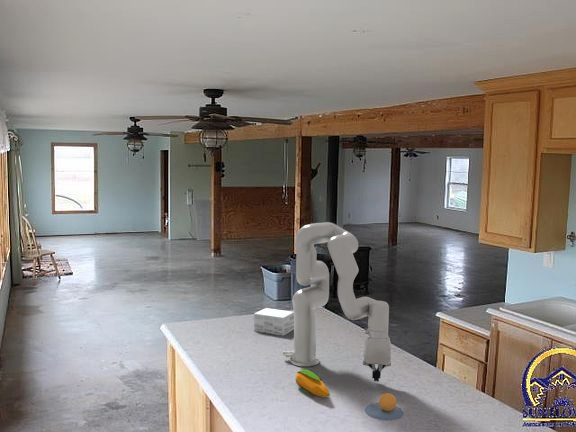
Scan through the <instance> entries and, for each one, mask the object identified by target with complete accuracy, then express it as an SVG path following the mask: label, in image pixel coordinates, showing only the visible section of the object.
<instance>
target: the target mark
mask: <svg viewBox="0 0 576 432" xmlns="http://www.w3.org/2000/svg"><path fill="white" fill-rule="evenodd" d="M364 412H365V413H366V414H367V415H368V416H370V417H371V418H373V419H377V420H381V421H395V420H398V419H401V418H402V417H404V411H403V409H402V408H401V407H399V406H398V405H396V407H395V409H394V410H392V411H390V412H387V411H384V410H382V409H381V407H380V406H379V402H373V403H369V404H367V405H366V406H365V407H364Z"/></svg>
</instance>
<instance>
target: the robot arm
mask: <svg viewBox="0 0 576 432" xmlns="http://www.w3.org/2000/svg"><path fill="white" fill-rule="evenodd" d="M325 243H327V249H328V252H329V254H330V257H331V260H332V262H333V265H334V268H335V271H336V273H337V276H338V280H337V298H338V302H339V303H340V304H339V305H340V307H341V310H342V311H343V314H344V316H345V317H347V319H349V320H351V321H357V320H360V319H363V318H366V317H368V321H367V322H368V325H367V326H368V327H367V329H364V332H363V334H366V337H365V340H364V345H363V346H364V348H363V352H364V354H363V361H362V365H363V366H367V367H369V368H370V369H371V370H372V371H371V374H372V375H371V376H372V379H373V380H374V382H380V379H381V378H382V377H381V372H382V371H383V370H384V369H385V368H386V367H391V365H392V346H391V345H392V344H391V338H390V336H389V316H390V304H388V302H387V301H384V300H376V299H374V298H371V297H369V296H361V297H358V298H356V295H355V292H354V280H355V278H356V277H357V275H358V273H359V267H358V264H357V261H356V258H355V257H354V256H355V255H354V254H355V253H356V252H357V251H358V249H359V241H358V239H357V237H356V236H355V235H354V234H353V233H351V232H349V231H348V230H346V229H344V228H342V227H341V226H339V225H337V224H336V223H334V222H330V221H329V222H328V221H326V222H315V223H314V222H313V223H309V224H305V225H303V226H302V227H301V228H300V229H298V231H297V233H296V235H295V247H296V249H295V250H296V258H295V259H296V260H295V262H296V263H295V266H296V267H295V274H296V275H295V277H296V281H297V283H298V284H299V285H301V286H304V287H305V286H309V287H305V288H301V289H299V290H297V291H296V292H295V293H294V294H293V296H292V299H291V301H292V303H291V304H292V309H293V312H294V330H293V348H292V350H290V351H288V350H283V351H282V355H283V356H285V358H289V362H290V363H291V364H292V365H294V366H298V367H305V368H306V367H313V366H316V365H318V364H319V363H320V358H319V356H317V328H318V327H317V325H318V322H317V317H316V314H315V310H316V309H319V308H322V307H324V306H325V305H326V304H327V303H328V302H329V298H330V272H329V268H328V266H327V264H326V263H325V262H324V261H323V260H317V255H318V254H317V249H316V247H315V245H318V244H325ZM376 365H377V368H376Z"/></svg>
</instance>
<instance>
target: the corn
mask: <svg viewBox="0 0 576 432" xmlns="http://www.w3.org/2000/svg"><path fill="white" fill-rule="evenodd" d="M296 373H297V374H296V375H295V384H297V386H298V387H299V388H300V389H301V390H303V391H304V392H306V393H307V394H309V395H311V396H312V397H314V396H317V397H323V398H327V397H330V396H331V393H330V390H329V388H328V387H327V386H326V385H325V383H324V382H323V381H322V378H321V377H320V376H319V375H318V374H317V373H316V372H315V371H313V370H310V369H301V370H299V371H297V372H296Z"/></svg>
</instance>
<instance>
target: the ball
mask: <svg viewBox="0 0 576 432" xmlns="http://www.w3.org/2000/svg"><path fill="white" fill-rule="evenodd" d="M378 403H379V406H380V407H381V409H382V410H384V411H387V412H390V411H392V410H394V409H395V407H396V406H397V405H398V404H397V399H396V397H395V396H394V395H393V394H392V393H390V392H386V393H383V394H381V395H380V397H379V398H378Z"/></svg>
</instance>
